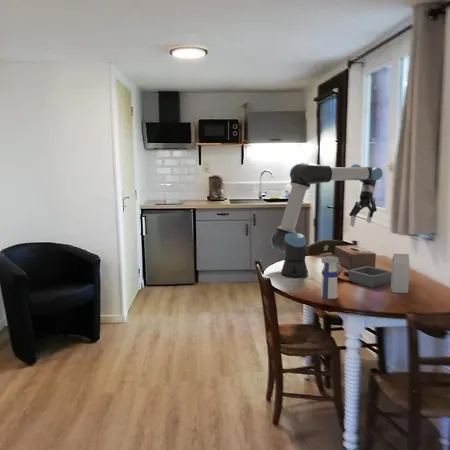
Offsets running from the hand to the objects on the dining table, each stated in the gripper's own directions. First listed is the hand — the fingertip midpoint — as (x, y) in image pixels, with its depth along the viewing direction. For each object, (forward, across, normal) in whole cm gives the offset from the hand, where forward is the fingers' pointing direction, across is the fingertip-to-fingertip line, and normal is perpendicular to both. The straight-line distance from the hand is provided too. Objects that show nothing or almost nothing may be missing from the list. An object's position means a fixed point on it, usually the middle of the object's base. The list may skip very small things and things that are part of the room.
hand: (359, 224), depth 278 cm
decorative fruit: (+42, -5, +14) cm, 44 cm away
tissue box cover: (+21, +11, -12) cm, 27 cm away
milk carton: (+45, -38, 0) cm, 59 cm away
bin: (+40, -20, +2) cm, 44 cm away
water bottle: (+60, -27, +32) cm, 73 cm away
